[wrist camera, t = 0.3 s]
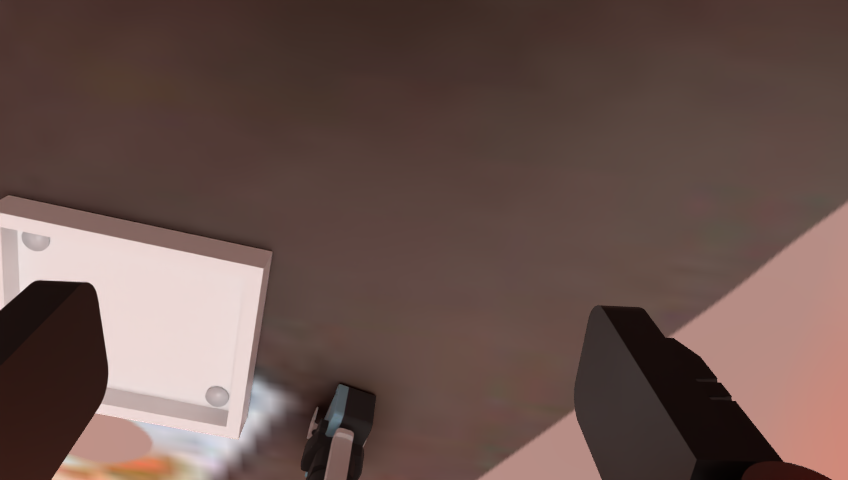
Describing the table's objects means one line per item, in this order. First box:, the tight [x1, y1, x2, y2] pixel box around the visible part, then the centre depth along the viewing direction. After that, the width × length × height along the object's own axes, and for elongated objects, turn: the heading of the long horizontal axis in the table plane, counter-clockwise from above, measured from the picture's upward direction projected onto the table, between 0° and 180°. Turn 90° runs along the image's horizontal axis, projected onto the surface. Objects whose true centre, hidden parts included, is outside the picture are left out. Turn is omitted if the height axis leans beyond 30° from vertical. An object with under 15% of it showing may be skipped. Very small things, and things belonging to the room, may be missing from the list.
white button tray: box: [0, 195, 272, 440], centre depth 31 cm, size 10×12×2 cm
